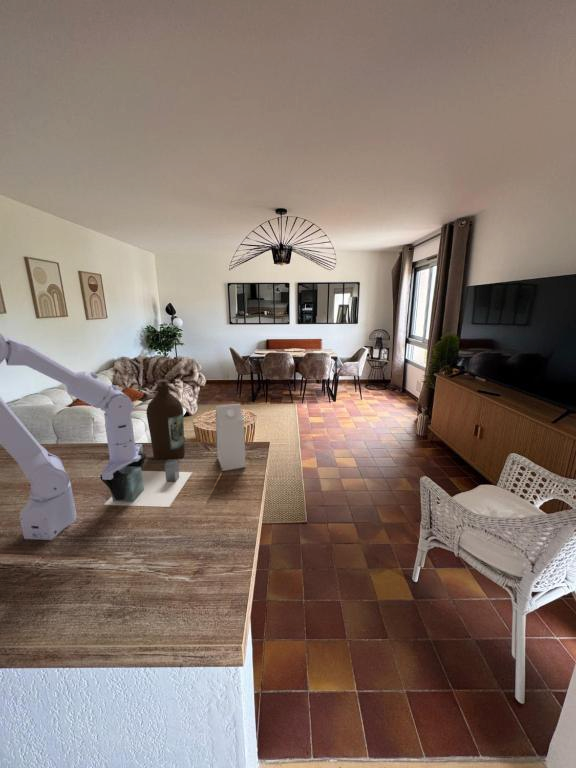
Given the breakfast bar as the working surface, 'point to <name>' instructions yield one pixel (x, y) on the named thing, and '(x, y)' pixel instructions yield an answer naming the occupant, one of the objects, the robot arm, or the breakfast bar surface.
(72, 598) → the breakfast bar surface
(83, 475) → the breakfast bar surface
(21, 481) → the breakfast bar surface
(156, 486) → the base board
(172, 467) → the metal post
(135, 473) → the teal brushed cube
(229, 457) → the milk carton
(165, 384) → the olive oil
